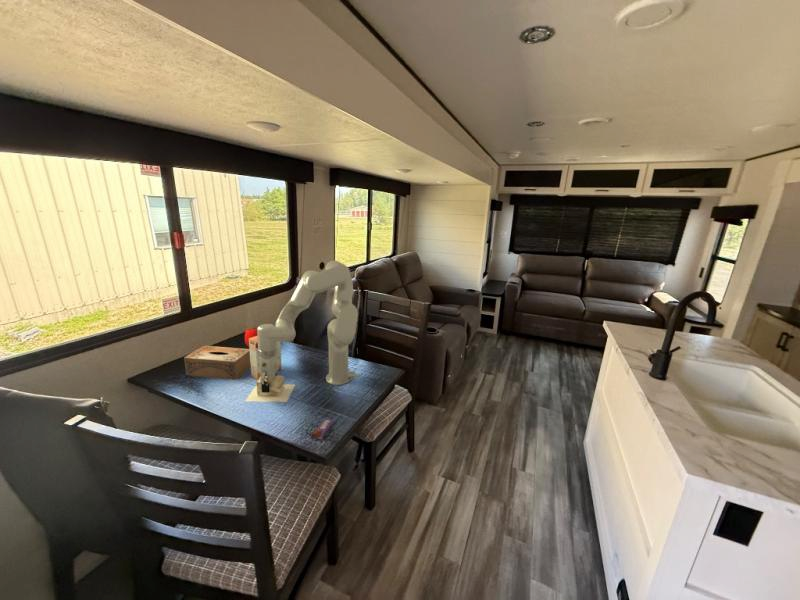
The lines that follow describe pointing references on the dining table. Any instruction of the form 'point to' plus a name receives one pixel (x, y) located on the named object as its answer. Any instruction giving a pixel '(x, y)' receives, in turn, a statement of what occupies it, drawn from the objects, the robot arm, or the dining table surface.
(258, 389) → the maple block
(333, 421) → the snack package
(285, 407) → the dining table surface
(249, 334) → the tomato
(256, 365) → the cracker box
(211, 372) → the tissue box cover
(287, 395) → the mat
